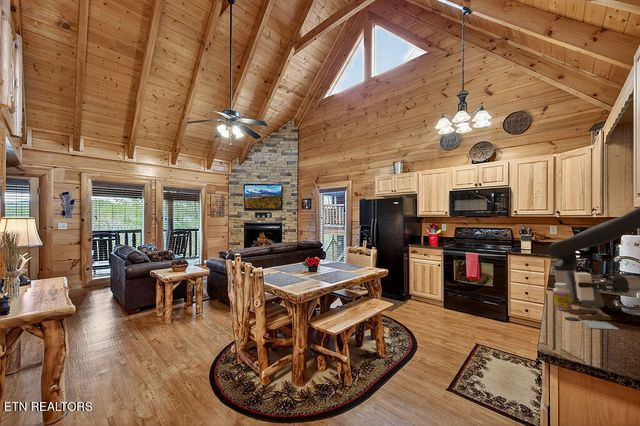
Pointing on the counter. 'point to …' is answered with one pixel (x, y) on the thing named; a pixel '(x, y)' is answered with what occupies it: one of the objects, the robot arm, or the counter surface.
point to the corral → (602, 317)
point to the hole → (572, 318)
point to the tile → (599, 325)
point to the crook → (591, 308)
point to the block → (584, 292)
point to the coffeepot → (595, 293)
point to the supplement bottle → (562, 297)
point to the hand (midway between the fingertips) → (576, 283)
